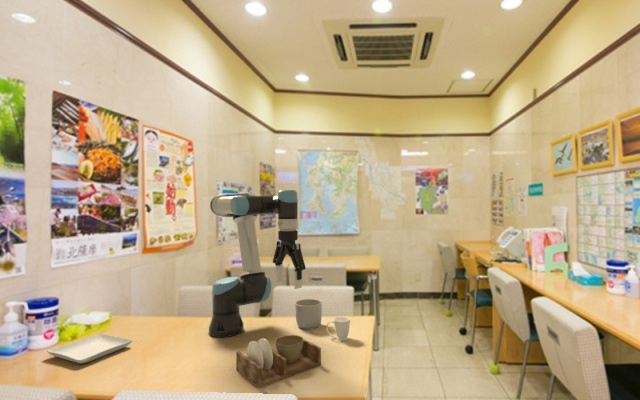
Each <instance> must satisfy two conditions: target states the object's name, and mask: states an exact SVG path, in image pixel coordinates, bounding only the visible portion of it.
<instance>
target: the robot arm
mask: <svg viewBox="0 0 640 400" xmlns="http://www.w3.org/2000/svg"><path fill="white" fill-rule="evenodd" d="M298 202H299V199H298V191H296V190H295V189H294V190H293V189H282V190H279V191H278V192H277V195H255V194H254V193H247V192H245V193H239V192H238V193H237V192H236V193H233V192H231V193H226V192H224V193H219V194H217V195H215V196H214V197H213V198H212V199H211V200H210V203H209V204H210V205H209V207H210V210H211V212H212V213H213V214H214V215H216V216H218V217H222V218H223V217H224V218H232V221H233V223H235V224H236V226H237V235H238V243H239V252H240V258H241V259H240V260H241V267H242V273H241V274H240V276H239V277H237V276H230V277H229V276H228V277H224V278H221V279H217V280H216V281H214V282H213V283H212V288H211V291H212V292H211V296H212V299H211V301H212V317H211V320H210V322H209V326H208V335H209V336H212V337H216V338H227V337H234V336H237V335H239V334H241V333H243V332H244V330H245V327H244V322H243V319H242V316H241V314H240V306H247V305H252V304H259V303H262V302H266V301H267V300H268V299H270V296H271V292H272V281H271V278H270V277H269V276H268V275H266V273H265V271H264V270H263V269H262V268H261V267H262V266H261V259H260V253H259V246H258V238H257V231H256V225H255V224H256V222H255V221H256V220H257V218H258V217H257V216H260V215H277V216H278V217H277V219H278V222H277V224H278V231H277V232H278V234H277V238H278V240H277V241H276V246H275V251H274V255H273V258H272V264H274V265H275V282H276V283H280V282H283V281H284V264H283V262H284V260H285V257H286V256H287V255H288V257H290V259H291V262H292V265H293V267H294V270H293V272H294V275H293V276H294V278H293V281H294V282H293V283H294V284H293V285H294V287H293V288H294V289H295V290H297V289H301V288H302V287H303V285H302V279H303V276H302V275H303V271H304V270H306V267H307V266H306V265H305V259H304V256H303V253H302V252H303V251H302V247H301V243H296V241H297V240H298V239H299V238H298V237H299V235H298V234H299V233H298V228H299V221H298V220H299V219H298V214H299V213H298V209H299V208H298V204H299V203H298Z"/></svg>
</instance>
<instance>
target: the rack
mask: <svg viewBox="0 0 640 400" xmlns="http://www.w3.org/2000/svg"><path fill="white" fill-rule="evenodd" d="M321 350H322V347H321V346H319V345H316V344H315V343H312V342H310V341H308V340H306V339H304V341H303V347H302V351H301V353H300V356H299V358H298V360H297V361H296V362H294V363H287V360H286V358H284V357H283V356H281V355H279V354H278V352H275V351H274V350H273V349H272V352H273V365H272V367H271V369H269V370H264V369H262V367H261V366H260V365H258V364H257V363H255V362H254V361H252V360H251V359H249V358H248V355H245V354H243V353H242V352H241V351H240V350H238V351H236V352H235V353H236V356H235V359H236V360H235V361H236V363H235V364H236V371H237V372H239V373H240V374H241V375H242V376H244V377H245V378H246V379H247V380H248V381H250V382H251V383H252V384H253V385H255V386H256V387H257V388H262V387H265V386H268V385H270V384H273V383H276V382H279V381H281V380H284V379H287V378H290V377H293V376H295V375H298V374H301V373H304V372H306V371H309V370H311V369H314V368H317V367H320V366H322V351H321Z"/></svg>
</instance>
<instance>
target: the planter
mask: <svg viewBox="0 0 640 400" xmlns="http://www.w3.org/2000/svg"><path fill="white" fill-rule="evenodd" d="M322 306H323V302H322V300H320V299H315V298H307V299H306V298H305V299H300V300H297V301H295V302H294V308H295V310H294V311H295V320H296V324H297V326H298V327H299V328H301V329H305V330H311V329H316V328H317V327H319V326H320V325H321V324H322V315H323V314H322V313H323V311H322V310H323V307H322Z"/></svg>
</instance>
